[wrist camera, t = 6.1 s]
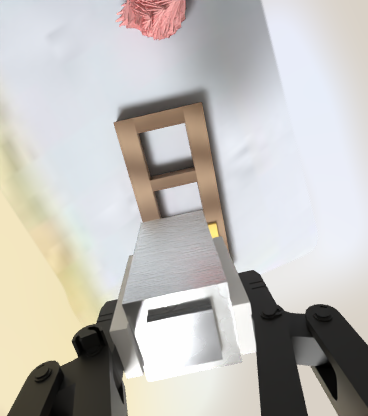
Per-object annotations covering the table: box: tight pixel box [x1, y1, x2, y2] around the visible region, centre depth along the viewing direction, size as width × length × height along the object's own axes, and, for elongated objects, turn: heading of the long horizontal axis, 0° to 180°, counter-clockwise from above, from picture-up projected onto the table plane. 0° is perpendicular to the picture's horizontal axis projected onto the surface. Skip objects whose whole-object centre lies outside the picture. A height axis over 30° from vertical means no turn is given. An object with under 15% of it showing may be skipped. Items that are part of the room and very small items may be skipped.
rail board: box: [114, 102, 229, 252], centre depth 36 cm, size 23×10×2 cm, turn 12°
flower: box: [116, 0, 186, 40], centre depth 27 cm, size 8×8×6 cm
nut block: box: [122, 210, 242, 381], centre depth 17 cm, size 4×4×9 cm
